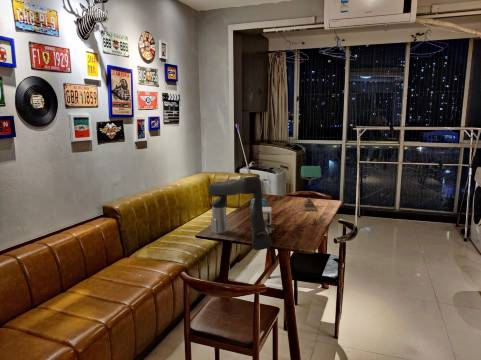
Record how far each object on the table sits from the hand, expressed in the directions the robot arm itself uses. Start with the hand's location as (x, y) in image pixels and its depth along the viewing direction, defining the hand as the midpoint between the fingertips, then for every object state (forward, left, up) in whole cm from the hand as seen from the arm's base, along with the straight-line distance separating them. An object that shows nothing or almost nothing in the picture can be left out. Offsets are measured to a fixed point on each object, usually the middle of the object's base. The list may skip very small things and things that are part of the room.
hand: (262, 223), depth 221 cm
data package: (+34, +44, -10) cm, 57 cm away
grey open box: (+18, +19, -10) cm, 28 cm away
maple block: (+1, +1, -7) cm, 7 cm away
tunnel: (+11, +12, -10) cm, 19 cm away
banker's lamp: (+77, +30, -10) cm, 83 cm away
